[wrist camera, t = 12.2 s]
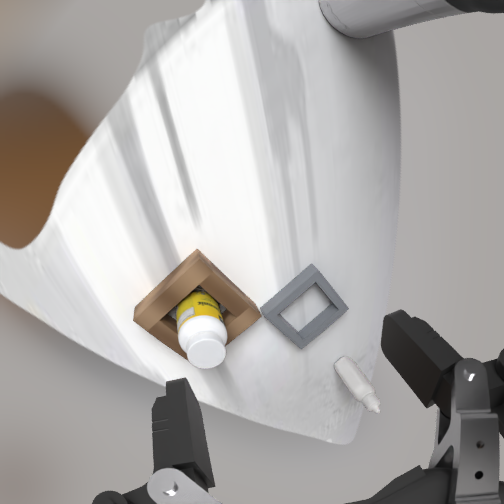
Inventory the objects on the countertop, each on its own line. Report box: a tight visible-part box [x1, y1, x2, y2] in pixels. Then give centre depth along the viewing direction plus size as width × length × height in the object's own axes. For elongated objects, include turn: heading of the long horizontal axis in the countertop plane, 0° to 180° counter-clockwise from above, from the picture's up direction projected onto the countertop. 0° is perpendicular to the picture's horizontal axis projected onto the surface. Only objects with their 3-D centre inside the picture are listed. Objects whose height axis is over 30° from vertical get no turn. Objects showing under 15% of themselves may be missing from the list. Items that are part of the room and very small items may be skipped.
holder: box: [260, 264, 349, 349], centre depth 42 cm, size 9×9×2 cm
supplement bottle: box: [176, 288, 227, 369], centre depth 35 cm, size 5×5×10 cm
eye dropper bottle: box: [334, 357, 381, 414], centre depth 46 cm, size 4×6×12 cm
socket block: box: [133, 249, 261, 361], centre depth 38 cm, size 11×11×3 cm
